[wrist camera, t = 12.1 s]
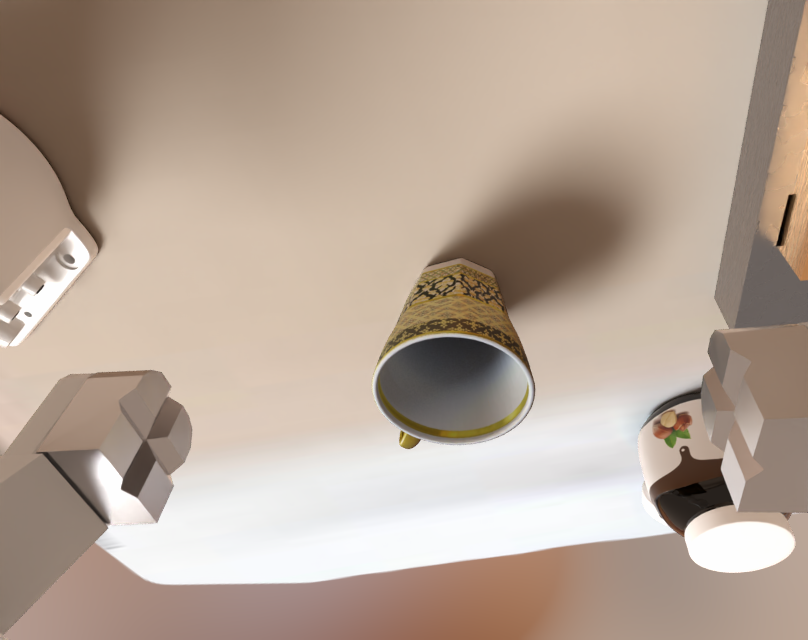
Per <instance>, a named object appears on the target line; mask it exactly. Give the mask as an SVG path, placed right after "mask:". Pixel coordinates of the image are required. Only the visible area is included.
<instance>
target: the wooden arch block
mask: <svg viewBox="0 0 808 640" xmlns="http://www.w3.org/2000/svg"><path fill="white" fill-rule="evenodd" d="M781 227H782V229H783V230H784V234H783V238H782V242H781V246H780V252H781V253H782V255H783V256H784V258H785V259H786V261H787V262H788V263H789V265H790V266H791V268H792V269H793V271H794V272H795V274H796V275H797V276H798V278H799V279H800V281H803V280H808V137H807V141H806V145H805V149H804V153H803V157H802V161H801V165H800V169H799V173H798V177H797V182H796V186H795V190H794V194H790V195H788V199H787V203H786V207H785V211H784V215H783V219H782V223H781Z"/></svg>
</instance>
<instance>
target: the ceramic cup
mask: <svg viewBox="0 0 808 640" xmlns="http://www.w3.org/2000/svg"><path fill="white" fill-rule="evenodd" d="M372 392H373V397H374V400H375V403H376V405H377V407H378V408H379V410H380V412H381V413H382V414H383V415H384V416H385V418H386V419H387V420H388V421H389V422H391V423H392V424H393V425H394V426H396V427H397V428H398V429H400V430H401V432H400V439H399V443H400V446H401V447H403V448H406V449H411V448H413V447H415V446H416V445H417V444H418V443H419V442H420V440H421V439H422V440H425V441H428V442H433V443H438V444H446V445H467V444H475V443H481V442H485V441H488V440H492V439H494V438H497V437H499V436H502V435H504V434H506V433H507V432H509V431H511V430H512V429H513V428H515V427H516V426H517V425H518V424H520V423H521V422H522V421H523V419H524V418H525V417H526V416H527V414H528V413H529V411H530V409H531V407H532V405H533V401H534V397H535V383H534V380H533V376H532V373H531V369H530V366H529V362H528V360H527V357H526V354H525V352H524V349H523V346H522V344H521V341H520V339H519V337H518V335H517V333H516V331H515V329H514V327H513V325H512V323H511V321H510V319H509V317H508V314H507V310H506V307H505V304H504V301H503V298H502V295H501V292H500V289H499V286H498V284H497V281H496V278H495V276H494V273H493V272H492V271H491V270H489V269H487V268H484V267H482V266H480V265H477V264H475V263H473V262H471V261H468V260H466V259H464V258H458V259H454V260H451V261H447V262H443V263H439V264H435V265H431V266H428V267H426V268H425V269H424V270H423V272H422V273H421V275H420V277H419V278H418V280H417V282H416V283H415V285H414V287H413V289H412V290H411V292H410V294H409V296H408V299H407V300H406V303H405V305H404V308H403V311H402V313H401V315H400V317H399V320H398V322H397V324H396V327H395V328H394V330H393V332H392V333H391V335H390V336H389V338H388V340H387V342H386V344H385V346H384V349H383V351H382V353H381V355H380V358H379V360H378V363H377V366H376V368H375V371H374V374H373V378H372Z"/></svg>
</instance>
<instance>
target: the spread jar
mask: <svg viewBox="0 0 808 640" xmlns="http://www.w3.org/2000/svg"><path fill="white" fill-rule="evenodd" d="M724 453H725V452H723V451H722V450H721V449H719V448H718V447H717V446H715V445H714V444H713V443H711V442H710V439H709V436H708V433H707V430H706V428H705V424H704V419H703V415H702V406H701V393H693V394H688V395H684V396H681V397H678V398H676V399H674V400H671V401H670V402H668V403H666V404H664V405H663V406H662V407H660V408H659V409H658V410H657V411H655V412H654V413H653V414H652V415H651V416H650V417H649V418H648V419H647V421H646V422H645V423H644V425H643V426H642V428H641V430H640V433H639V436H638V454H639V459H640V464H641V468H642V472H643V476H644V480H645V481H644V483H643V486H642V503H643V506H644V508H645V509H646V511H647V512H648V513H649V514H650V515H651V516H652V517H653V518H654V519H656V520H657V521H659V522H661V523H663V524H665V525H667V526H669V527H670V528H671V529H673V530H674V531H675V532H677V533H678V534H679V535H681V536H682V537H684V538H685V541H686V544H687V547H688V551H689V554H690V556H691V558H692V560H693V561H694V562H696V563H697V564H699V565H700V566H702V567H704V568H707V569H710V570H714V571H719V572H734V573H737V572H748V571H754V570H759V569H763V568H766V567H769V566H772V565H774V564H776V563H778V562H780V561H782V560H783V559H785V558H786V557H788V556H789V555H790V554H791V552H792V551H793V549H794V547H795V543H796V540H795V537H794V535H793V532H792V530H791V528H790V526H789V523H788V519H789V518H790V516H791V514H792V513H774V512H737V510H736V508H735V505H734V503H733V500H732V497H731V495H730V492H729V490H728V487H727V484H726V482H725V479H724V477H723V474H722V471H721V466H722V461H723V457H724Z"/></svg>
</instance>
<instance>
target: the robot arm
mask: <svg viewBox="0 0 808 640" xmlns="http://www.w3.org/2000/svg"><path fill="white" fill-rule="evenodd" d="M97 253H98V247H97V244H96V242H95V241H94V239H93V238H92V236H91V235H90V234H89V232H88V231H87V230H86V229H85V227H84V226H83V225H82V224H81V223H80V221H79V220H78V219H77V218H76V217H75V215H74V214H73V212H72V210H71V208H70V205H69V203H68V200H67V198H66V195H65V193H64V190H63V188H62V185H61V183H60V181H59V179H58V177H57V176H56V174H55V172H54V171H53V169H52V167H51V166H50V164H49V163H48V161H47V160H46V159H45V157H44V156H43V155H42V154H41V152H40V151H39V150H38V149H37V148H36V146H35V145H34V144H33V143H32V142H31V141H30V140H29V139H28V138H27V137H26V136H25V135H24V134H23V133H22V132H21V131H20V130H19V129H18V128H17V127H15V126H14V125H13V124H12V123H11V122H9V121H8V120H7V119H6V118H4V117H3V116H2V115H0V346H1V347H5V348H7V347H8V346H18V345H19V344H21V343H22V342H23V341H24V340H25V339H26V338H27V337H28V336H29V335H30V334H31V333H32V331H33V330H34V329H35V328H36V327H37V326H38V324H39V323H40V322H41V321H42V320H43V318H44V317H45V316H46V315H47V314H48V313H49V311H50V310H51V309H52V308H53V307H54V305H55V304H56V303H57V302H58V301H59V300H60V298H61V297H62V296H63V295H64V294H65V292H66V291H67V290H68V289H69V288H70V287H71V285H72V284H73V283H74V282H75V281H76V279H77V278H78V277H79V276H80V275H81V274H82V272H83V271H84V270H85V269H86V268H87V266H88V265H89V264H90V263H91V262H92V260H93V259H94V258H95V257H96V255H97ZM70 255H71V256H72V257H71V256H70ZM73 257H74V258H73ZM708 354H709V357H710V359H711V361H712V364H713V366H714V367H713V368H711V369H710V370H709V371H708V372H707V373H706V374H705V375H703V381H702V388H701V406H702V415H703V419H704V424H705V428H706V430H707V433H708V436H709V439H710V442H711V443H713V444H714V445H715V446H717V447H718V448H719V449H721V450H722V451H723V452H725V453H724V457H723V461H722V466H721V471H722V474H723V477H724V479H725V482H726V484H727V487H728V490H729V492H730V495H731V497H732V500H733V503H734V505H735V508H736V510H737V512H774V513H808V322H805V323H798V324H786V325H773V326H760V327H747V328H735V329H722V330H715V331H714V333H713V334H712V336H711V338H710V342H709V347H708ZM170 390H171V385H170V384H169V382H168V381H167V379H166V378H165V376H164V375H163V374H162V372H158V371H153V370H143V371H121V372H98V373H94V374H70V375H68V376H66V377H64V378H62V379H60V380H59V381H58V382H57V384H56V385H55V386H54V388H53V389H52V390H51V392H50V393H49V394H48V396H47V397H46V398H45V400H44V401H43V402H42V404H41V405H40V406H39V408H38V409H37V410H36V412H35V413H34V414H33V416H32V417H31V418H30V420H29V421H28V422H27V424H26V425H25V426H24V428H23V429H22V431H21V432H20V433H19V435H18V436H17V437H16V439H15V440H14V441H13V443H12V444H11V445H10V447H9V448H8V449H7V451H6V452H5V453H4V455H0V640H9V639H8V638H6V637H5V636H4V634H5V633H6V632H7V631H8V630H9V629H10V628H11V627H12V626H13V625H14V624H15V623H16V622H17V621H18V620H19V619H20V618H21V617H22V616H23V614H25V612H27V610H28V609H29V608H30V607H31V606H32V605H33V604H34V603H35V602H36V601H37V600H38V599H39V598H40V597H41V596H42V595H43V594H44V593H45V592H46V591H47V590H48V589H49V588H50V587H51V586H52V585H53V584H54V583H55V582H56V581H57V580H58V579H59V578H60V577H61V576H62V575H63V574H64V573H65V572H66V571H67V570H68V569H69V568H70V567H71V566H72V565H73V564H74V563H75V562H76V560H78V558H79V557H81V556H82V554H83V553H84V552H85V551H86V550H87V549H88V548H89V547H90V546H91V545H92V544H93V543H94V542H95V541H96V540H97V539H98V538H99V537H100V536H101V535H102V534H103V533H104V532H105V531H106V530H107V529H108V527H107V526H108V525H128V524H149V523H157V522H158V520H159V517H160V515H161V513H162V511H163V509H164V506H165V504H166V502H167V500H168V498H169V495H170V493H171V491H172V489H173V487H174V485H173V482H172V479H171V475H170V474H172V473H173V472H174V471H175V470H176V469H177V468H179V467H180V466H181V465H182V464H183V463H184V462H185V460H186V457H187V455H188V453H189V450H190V448H191V439H192V426H191V422H190V418H189V415H188V414H187V412H186V410H185V408H184V407H183V406H182V405H181V404H179V403H178V402H176V401H174V400H173V399H171V398H170V397H169V393H170Z"/></svg>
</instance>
